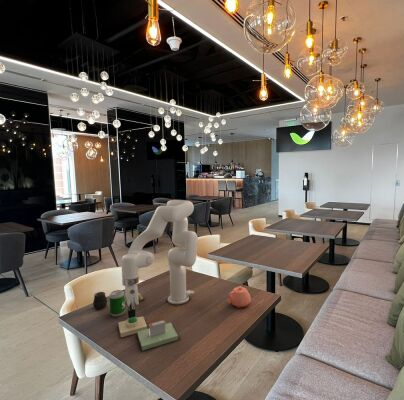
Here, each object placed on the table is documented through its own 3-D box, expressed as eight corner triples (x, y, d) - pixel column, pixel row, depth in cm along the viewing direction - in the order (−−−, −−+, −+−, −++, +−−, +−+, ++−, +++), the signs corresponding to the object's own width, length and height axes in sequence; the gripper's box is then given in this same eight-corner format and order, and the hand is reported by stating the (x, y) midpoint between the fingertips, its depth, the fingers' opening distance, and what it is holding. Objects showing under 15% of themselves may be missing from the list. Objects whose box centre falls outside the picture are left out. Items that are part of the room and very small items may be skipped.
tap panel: (170, 326, 132) (170, 322, 131) (178, 339, 121) (178, 335, 121) (137, 335, 124) (137, 331, 124) (142, 350, 114) (141, 346, 113)
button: (135, 318, 132) (135, 315, 132) (136, 322, 129) (136, 318, 129) (128, 320, 130) (127, 317, 130) (129, 324, 127) (128, 320, 127)
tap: (164, 330, 125) (163, 319, 124) (165, 332, 123) (165, 321, 123) (149, 334, 122) (148, 323, 121) (150, 336, 120) (149, 326, 119)
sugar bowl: (254, 306, 151) (254, 289, 150) (233, 312, 144) (233, 294, 143) (243, 297, 162) (243, 281, 160) (223, 302, 155) (223, 285, 154)
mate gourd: (107, 303, 155) (106, 286, 154) (107, 309, 148) (106, 292, 147) (94, 305, 153) (93, 288, 152) (92, 311, 146) (91, 294, 145)
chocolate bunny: (131, 297, 162) (131, 282, 161) (143, 298, 160) (143, 282, 159) (127, 302, 156) (126, 285, 155) (139, 303, 155) (138, 286, 154)
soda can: (120, 318, 139) (119, 296, 138) (107, 316, 141) (106, 295, 139) (128, 310, 146) (127, 290, 145) (115, 309, 148) (114, 288, 147)
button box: (143, 320, 137) (143, 312, 137) (147, 330, 128) (147, 322, 128) (118, 326, 132) (118, 318, 131) (120, 337, 123) (120, 329, 122)
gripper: (141, 284, 122) (142, 322, 124) (136, 273, 136) (137, 307, 137) (124, 287, 119) (125, 326, 121) (120, 276, 132) (121, 311, 134)
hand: (131, 316), depth 129 cm, fingers closed
